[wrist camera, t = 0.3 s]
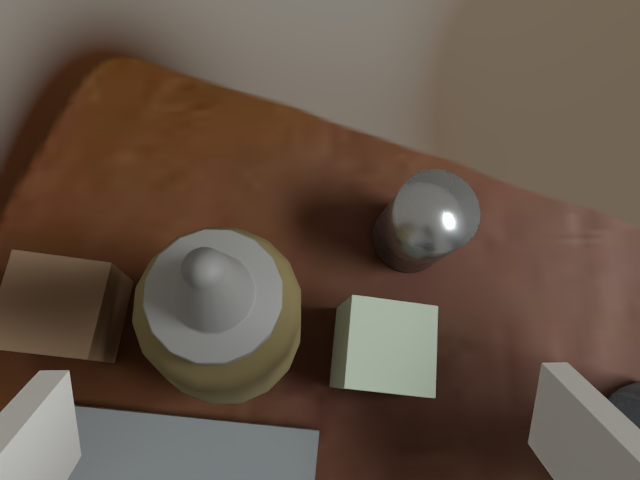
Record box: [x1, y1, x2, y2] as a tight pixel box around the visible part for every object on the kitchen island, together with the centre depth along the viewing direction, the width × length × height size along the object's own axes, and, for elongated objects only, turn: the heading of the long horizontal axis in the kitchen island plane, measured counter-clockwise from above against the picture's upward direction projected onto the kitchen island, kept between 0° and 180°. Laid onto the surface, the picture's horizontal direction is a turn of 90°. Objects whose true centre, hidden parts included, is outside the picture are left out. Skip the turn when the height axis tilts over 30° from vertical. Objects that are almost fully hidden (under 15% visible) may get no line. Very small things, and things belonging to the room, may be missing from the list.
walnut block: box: [0, 249, 134, 363], centre depth 26 cm, size 5×5×5 cm
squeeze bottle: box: [132, 227, 301, 404], centre depth 21 cm, size 8×8×18 cm
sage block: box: [329, 295, 438, 398], centre depth 28 cm, size 5×5×5 cm
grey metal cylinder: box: [372, 169, 480, 273], centre depth 30 cm, size 5×5×6 cm
